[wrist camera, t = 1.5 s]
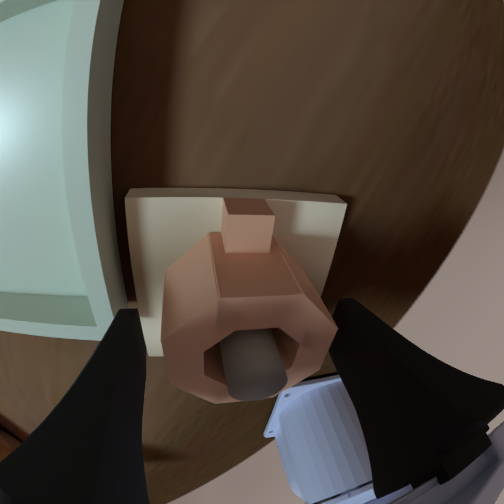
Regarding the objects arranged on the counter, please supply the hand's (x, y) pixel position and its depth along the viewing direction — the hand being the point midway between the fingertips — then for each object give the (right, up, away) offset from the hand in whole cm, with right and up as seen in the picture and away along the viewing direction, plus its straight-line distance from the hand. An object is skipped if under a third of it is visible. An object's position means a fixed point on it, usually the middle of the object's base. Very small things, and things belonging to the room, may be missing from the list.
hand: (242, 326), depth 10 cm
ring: (0, +1, +2) cm, 2 cm away
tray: (-11, +6, -3) cm, 13 cm away
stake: (-1, +1, +3) cm, 3 cm away
